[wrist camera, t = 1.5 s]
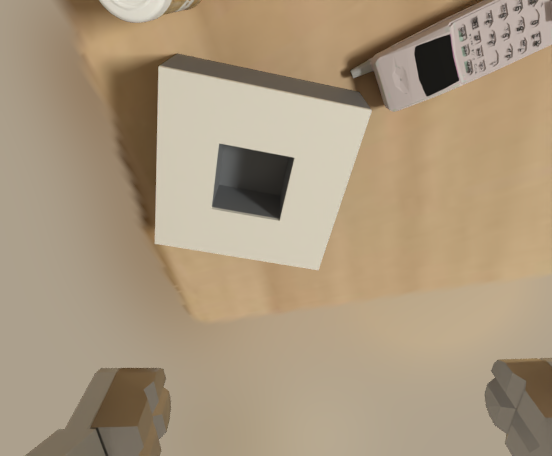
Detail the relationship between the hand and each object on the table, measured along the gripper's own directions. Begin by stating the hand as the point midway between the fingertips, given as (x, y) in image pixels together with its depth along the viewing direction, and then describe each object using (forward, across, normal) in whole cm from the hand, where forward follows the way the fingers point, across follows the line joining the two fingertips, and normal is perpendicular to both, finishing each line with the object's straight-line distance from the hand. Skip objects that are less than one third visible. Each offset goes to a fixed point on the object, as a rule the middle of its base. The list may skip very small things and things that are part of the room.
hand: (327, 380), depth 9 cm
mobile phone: (+32, -18, -8) cm, 38 cm away
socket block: (+34, +4, +4) cm, 34 cm away
